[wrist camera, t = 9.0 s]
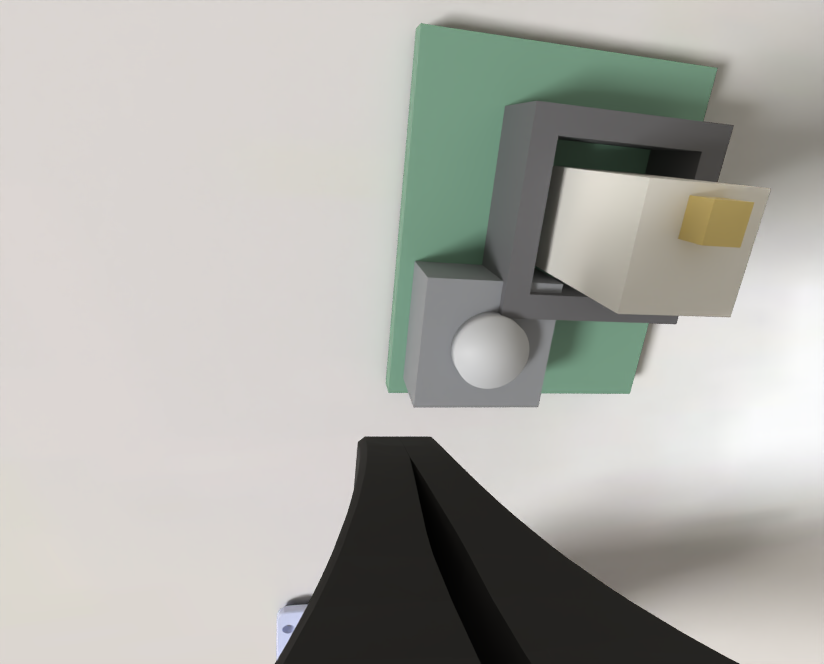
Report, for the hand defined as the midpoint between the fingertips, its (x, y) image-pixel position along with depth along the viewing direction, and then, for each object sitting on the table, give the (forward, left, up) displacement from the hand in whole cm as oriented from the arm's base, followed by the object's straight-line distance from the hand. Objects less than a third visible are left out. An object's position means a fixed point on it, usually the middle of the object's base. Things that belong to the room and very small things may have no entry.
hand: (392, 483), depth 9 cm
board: (+3, -6, -10) cm, 12 cm away
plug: (+4, -7, -9) cm, 12 cm away
